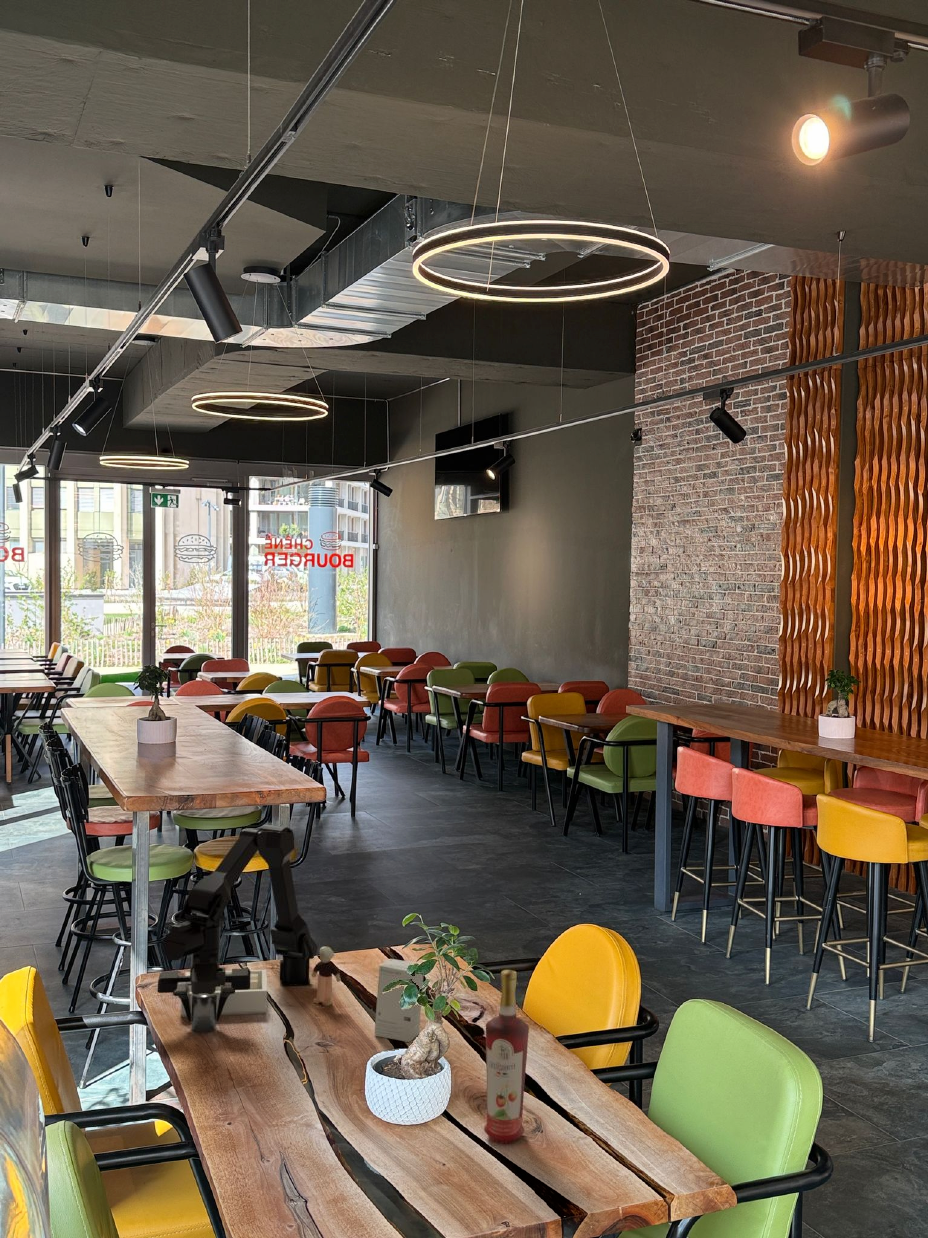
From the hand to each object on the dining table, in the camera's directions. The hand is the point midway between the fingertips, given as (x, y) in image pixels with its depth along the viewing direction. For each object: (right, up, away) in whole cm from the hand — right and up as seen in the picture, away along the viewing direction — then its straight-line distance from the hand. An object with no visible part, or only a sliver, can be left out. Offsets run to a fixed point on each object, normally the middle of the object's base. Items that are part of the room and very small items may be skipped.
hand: (203, 1021), depth 228 cm
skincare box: (+41, -3, 0) cm, 41 cm away
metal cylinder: (0, -2, 0) cm, 2 cm away
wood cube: (+6, -1, +15) cm, 16 cm away
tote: (+1, -1, +14) cm, 15 cm away
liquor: (+61, -4, -43) cm, 75 cm away
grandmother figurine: (+23, -2, +17) cm, 29 cm away
